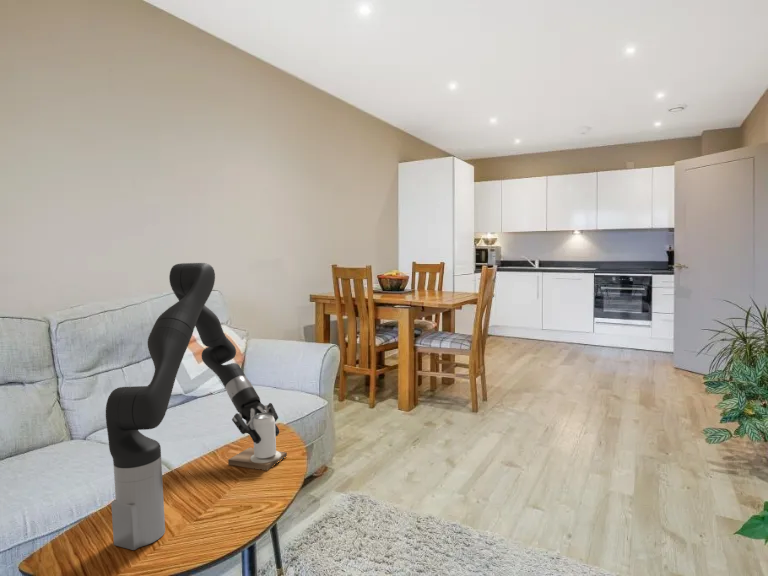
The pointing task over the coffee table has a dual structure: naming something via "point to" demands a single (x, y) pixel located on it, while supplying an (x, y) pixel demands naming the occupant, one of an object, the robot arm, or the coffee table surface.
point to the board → (255, 459)
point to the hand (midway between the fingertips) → (268, 438)
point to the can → (265, 435)
